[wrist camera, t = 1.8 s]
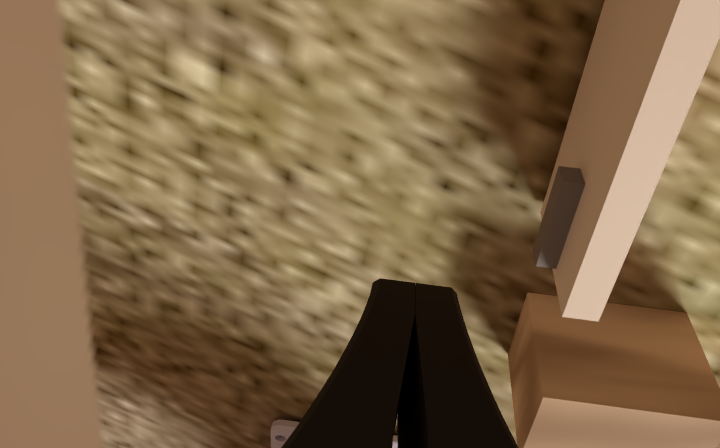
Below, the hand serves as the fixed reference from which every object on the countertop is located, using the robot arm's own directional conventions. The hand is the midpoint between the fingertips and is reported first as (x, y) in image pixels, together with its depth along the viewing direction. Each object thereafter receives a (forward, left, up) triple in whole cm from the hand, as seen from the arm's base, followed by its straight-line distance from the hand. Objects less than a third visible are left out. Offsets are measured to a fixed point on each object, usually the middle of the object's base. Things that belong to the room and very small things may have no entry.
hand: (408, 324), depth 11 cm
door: (+1, -5, -10) cm, 11 cm away
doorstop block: (-10, -8, -10) cm, 16 cm away
